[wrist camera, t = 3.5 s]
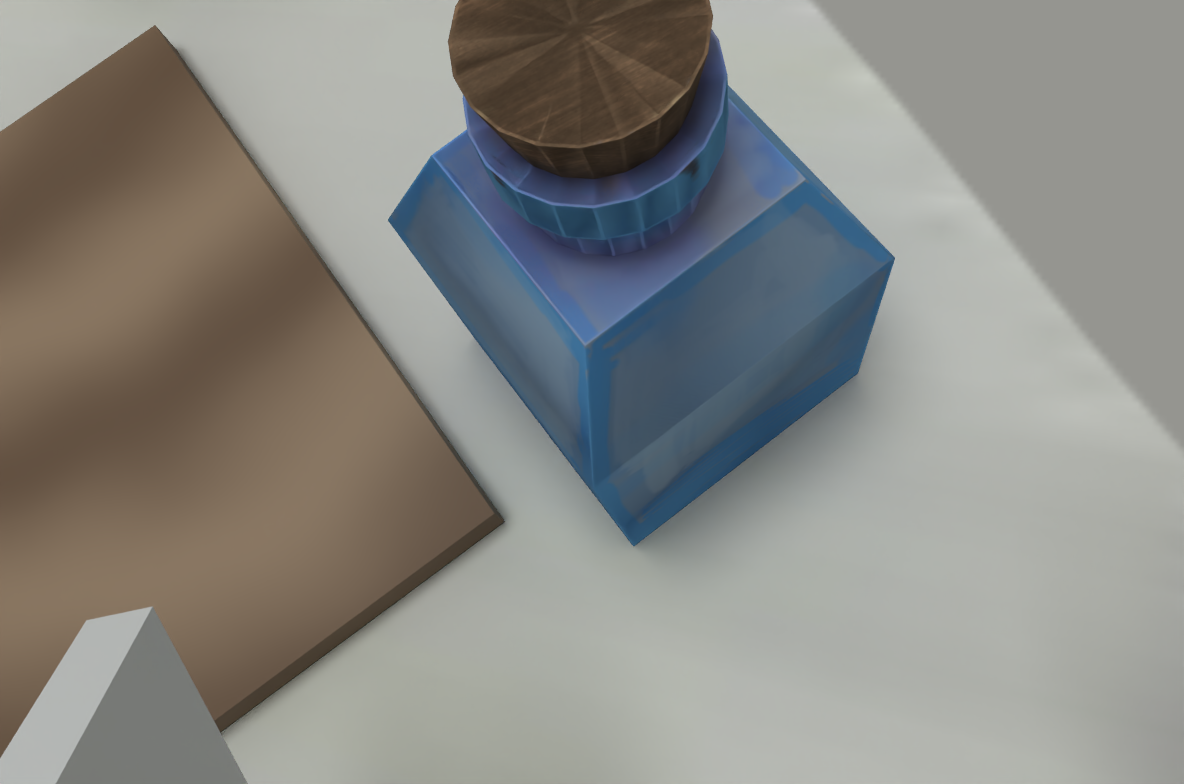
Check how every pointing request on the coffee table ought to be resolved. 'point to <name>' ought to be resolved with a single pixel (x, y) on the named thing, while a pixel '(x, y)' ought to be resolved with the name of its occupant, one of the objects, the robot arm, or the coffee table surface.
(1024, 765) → the coffee table surface
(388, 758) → the coffee table surface
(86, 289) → the walnut board
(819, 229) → the perfume bottle
